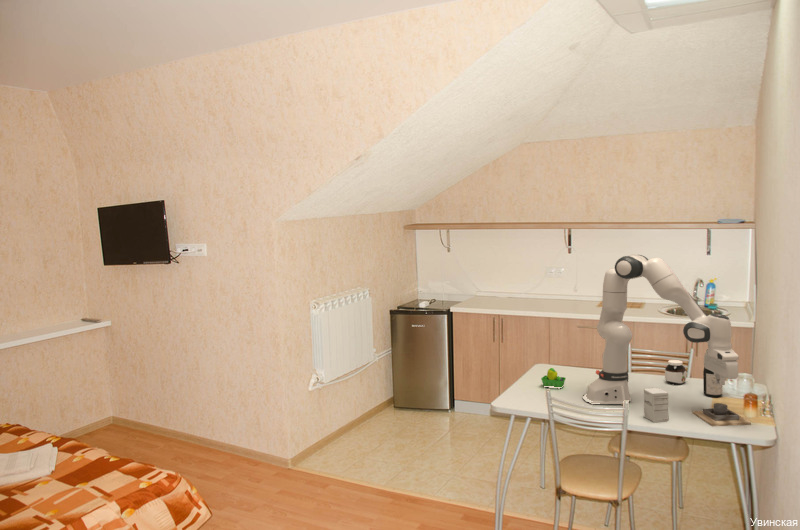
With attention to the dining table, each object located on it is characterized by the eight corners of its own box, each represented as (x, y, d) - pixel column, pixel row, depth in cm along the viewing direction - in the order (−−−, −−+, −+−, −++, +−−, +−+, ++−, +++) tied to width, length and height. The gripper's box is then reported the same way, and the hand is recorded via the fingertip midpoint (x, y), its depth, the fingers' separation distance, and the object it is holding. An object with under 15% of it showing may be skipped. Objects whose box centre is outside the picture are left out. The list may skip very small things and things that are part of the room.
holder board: (711, 426, 230) (711, 419, 230) (692, 413, 246) (692, 406, 246) (751, 424, 230) (750, 417, 230) (728, 412, 246) (728, 405, 246)
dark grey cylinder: (717, 418, 236) (717, 407, 235) (711, 414, 241) (711, 403, 241) (730, 418, 236) (730, 406, 235) (723, 414, 241) (723, 402, 241)
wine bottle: (725, 398, 265) (724, 335, 263) (706, 397, 267) (706, 335, 265) (719, 393, 273) (718, 332, 271) (701, 392, 275) (700, 332, 273)
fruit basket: (566, 386, 296) (565, 365, 295) (561, 391, 289) (561, 369, 288) (545, 384, 302) (544, 364, 301) (540, 388, 295) (539, 367, 294)
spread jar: (674, 386, 287) (674, 364, 287) (657, 381, 298) (656, 360, 297) (691, 383, 292) (691, 361, 292) (673, 378, 303) (672, 357, 302)
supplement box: (643, 416, 245) (643, 388, 244) (659, 415, 246) (659, 387, 245) (652, 422, 238) (652, 393, 237) (669, 421, 238) (668, 392, 238)
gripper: (699, 347, 247) (700, 378, 248) (725, 357, 227) (726, 391, 227) (713, 346, 247) (714, 377, 248) (741, 357, 226) (741, 390, 227)
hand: (720, 384), depth 237 cm, fingers closed
